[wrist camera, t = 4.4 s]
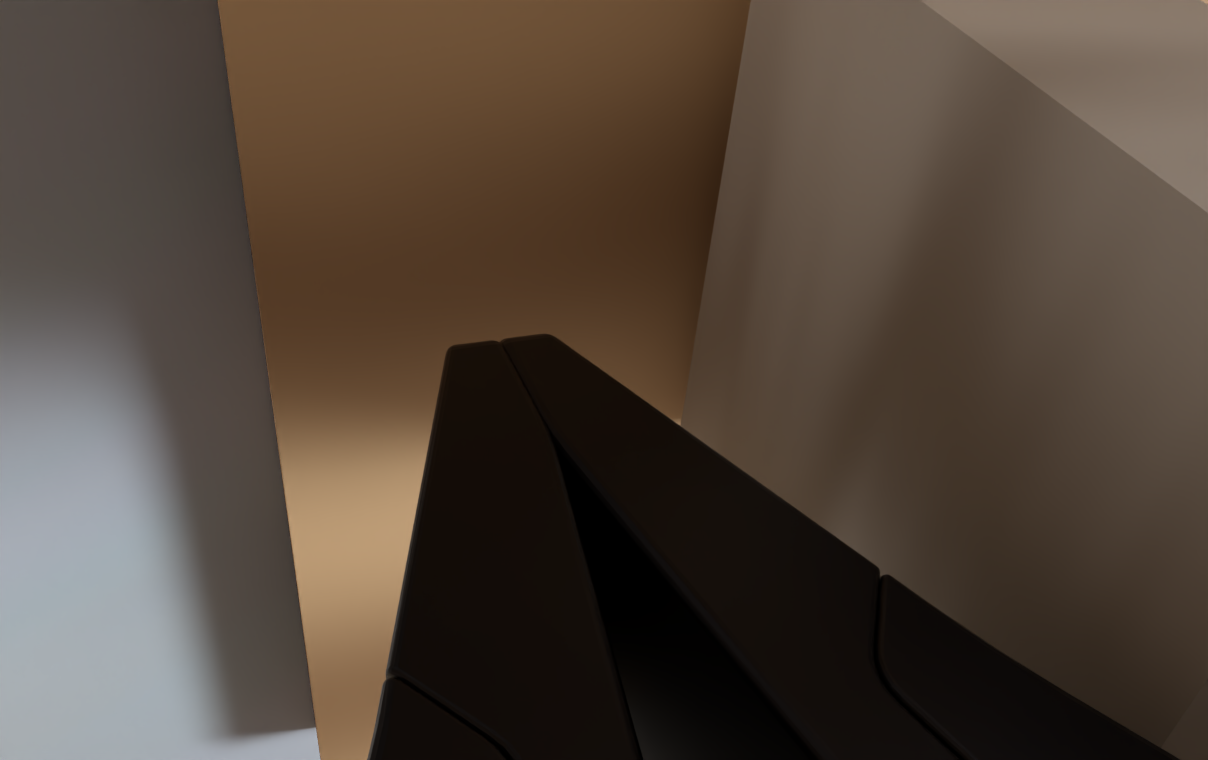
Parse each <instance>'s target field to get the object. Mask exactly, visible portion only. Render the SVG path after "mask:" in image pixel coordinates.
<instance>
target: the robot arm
mask: <svg viewBox="0 0 1208 760" xmlns="http://www.w3.org/2000/svg"><path fill="white" fill-rule="evenodd" d="M385 674H386V680H385V681H384V682H383V685H382V690H381V695H380V700H379V706H378V711H377V717H376V722H375V727H374V732H373V737H372V741H371V745H370V750H369V754H368V758H367V760H1181V759H1179V758H1177V757H1176V756H1174V755H1172V754H1171V753H1169V752H1167V751H1166V750H1164V749H1162V748H1161V747H1159V746H1157V745H1155V744H1154V743H1152V742H1150V741H1149V740H1147V739H1145V738H1144V737H1142V736H1140V735H1139V734H1137V733H1135V732H1133V731H1132V730H1130V729H1128V728H1127V727H1125V726H1123V725H1122V724H1120V723H1118V722H1117V721H1115V720H1113V719H1111V718H1110V717H1108V716H1106V715H1105V714H1103V713H1101V712H1100V711H1098V710H1096V709H1095V708H1093V707H1091V706H1089V705H1088V704H1086V703H1084V702H1083V701H1081V700H1079V699H1078V698H1076V697H1074V696H1073V695H1071V694H1069V693H1068V692H1066V691H1064V690H1063V689H1061V688H1060V687H1058V686H1056V685H1055V684H1053V683H1051V682H1050V681H1048V680H1047V679H1045V678H1043V677H1042V676H1040V675H1039V674H1037V673H1035V672H1034V671H1032V670H1030V669H1029V668H1027V667H1026V666H1024V665H1022V664H1021V663H1019V662H1017V661H1016V660H1014V659H1013V658H1011V657H1009V656H1008V655H1006V654H1005V653H1003V652H1001V651H1000V650H998V649H996V648H995V647H993V646H992V645H991V644H989V643H988V642H986V641H985V640H983V639H982V638H980V637H979V636H977V635H976V634H974V633H973V632H971V631H970V630H968V629H967V628H965V627H964V626H963V625H961V624H960V623H958V622H957V621H955V620H954V619H952V618H951V617H949V616H948V615H946V614H945V613H943V612H942V611H940V610H939V609H937V608H936V607H935V606H933V605H932V604H930V603H929V602H927V601H926V600H924V599H923V598H922V597H920V596H919V595H917V594H916V593H915V592H913V591H912V590H910V589H909V588H908V587H906V586H905V585H903V584H902V583H901V582H899V581H898V580H896V579H895V578H894V577H892V576H891V575H889V574H885V575H882V576H881V577H880V569H879V568H878V567H877V566H876V565H875V564H873V563H872V562H871V561H869V560H868V559H866V558H865V557H864V556H862V555H861V554H859V553H858V552H857V551H855V550H854V549H852V548H851V547H850V546H848V545H847V544H845V543H844V542H843V541H841V540H840V539H838V538H837V537H836V536H834V535H833V534H831V533H830V532H829V531H827V530H826V529H824V528H823V527H821V526H820V525H819V524H817V523H816V522H814V521H813V520H812V519H810V518H809V517H807V516H806V515H805V514H803V513H802V512H800V511H799V510H798V509H796V508H795V507H793V506H792V505H791V504H789V503H788V502H786V501H785V500H784V499H782V498H781V497H779V496H778V495H777V494H775V493H774V492H772V491H771V490H770V489H768V488H767V487H765V486H764V485H763V484H761V483H760V482H758V481H757V480H756V479H754V478H753V477H751V476H750V475H749V474H747V473H746V472H744V471H743V470H742V469H740V468H739V467H737V466H736V465H735V464H733V463H732V462H730V461H729V460H728V459H726V458H725V457H723V456H722V455H721V454H719V453H718V452H716V451H715V450H714V449H712V448H711V447H709V446H708V445H707V444H705V443H704V442H702V441H701V440H700V439H698V438H697V437H695V436H694V435H693V434H691V433H690V432H688V431H687V430H686V429H684V428H683V427H681V426H680V425H679V424H677V423H676V422H674V421H673V420H672V419H670V418H669V417H667V416H666V415H665V414H663V413H662V412H660V411H659V410H657V409H656V408H655V407H653V406H652V405H650V404H649V403H648V402H646V401H645V400H643V399H642V398H641V397H639V396H638V395H636V394H635V393H634V392H632V391H631V390H629V389H628V388H627V387H625V386H624V385H622V384H621V383H620V382H618V381H617V380H615V379H614V378H613V377H611V376H610V375H608V374H607V373H606V372H604V371H603V370H601V369H600V368H599V367H597V366H596V365H594V364H593V363H592V362H590V361H589V360H587V359H586V358H585V357H583V356H582V355H580V354H579V353H578V352H576V351H575V350H573V349H572V348H571V347H569V346H568V345H566V344H565V343H564V342H562V341H561V340H559V339H558V338H556V337H555V336H553V335H550V334H535V335H528V336H520V337H512V338H505V339H503V340H502V341H500V342H498V341H495V340H489V341H481V342H473V343H465V344H457V345H453V346H451V347H450V348H448V350H447V351H446V355H445V360H444V365H443V371H442V376H441V381H440V387H439V392H438V397H437V402H436V408H435V413H434V418H433V424H432V429H431V434H430V440H429V445H428V450H427V455H426V461H425V466H424V471H423V477H422V482H421V487H420V492H419V498H418V503H417V508H416V514H415V519H414V524H413V530H412V535H411V540H410V545H409V551H408V556H407V561H406V567H405V572H404V577H403V583H402V588H401V593H400V598H399V604H398V609H397V614H396V620H395V625H394V630H393V636H392V641H391V646H390V651H389V657H388V662H387V667H386V673H385Z"/></svg>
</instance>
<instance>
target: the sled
mask: <svg viewBox="0 0 1208 760" xmlns="http://www.w3.org/2000/svg"><path fill="white" fill-rule="evenodd" d="M681 427H683V428H684V429H686V430H687V431H688V432H690V433H691V434H693V435H694V436H695V437H697V438H698V439H700V440H701V441H702V442H704V443H705V444H707V445H708V446H709V447H711V448H712V449H714V450H715V451H716V452H718V453H719V454H721V455H722V456H723V457H725V458H726V459H728V460H729V461H730V462H732V463H733V464H735V465H736V466H737V467H739V468H740V469H742V470H743V471H744V472H746V473H747V474H749V475H750V476H751V477H753V478H754V479H756V480H757V481H758V482H760V483H761V484H763V485H764V486H765V487H767V488H768V489H770V490H771V491H772V492H774V493H775V494H777V495H778V496H779V497H781V498H782V499H784V500H785V501H786V502H788V503H789V504H791V505H792V506H793V507H795V508H796V509H798V510H799V511H800V512H802V513H803V514H805V515H806V516H807V517H809V518H810V519H812V520H813V521H814V522H816V523H817V524H819V525H820V526H821V527H823V528H824V529H826V530H827V531H829V532H830V533H831V534H833V535H834V536H836V537H837V538H838V539H840V540H841V541H843V542H844V543H845V544H847V545H848V546H850V547H851V548H852V549H854V550H855V551H857V552H858V553H859V554H861V555H862V556H864V557H865V558H866V559H868V560H869V561H871V562H872V563H873V564H875V565H876V566H877V567H878V568H879V569H880V577H881V576H882V575H885V574H889V575H891V576H892V577H894V578H895V579H896V580H898V581H899V582H901V583H902V584H903V585H905V586H906V587H908V588H909V589H910V590H912V591H913V592H915V593H916V594H917V595H919V596H920V597H922V598H923V599H924V600H926V601H927V602H929V603H930V604H932V605H933V606H935V607H936V608H937V609H939V610H940V611H942V612H943V613H945V614H946V615H948V616H949V617H951V618H952V619H954V620H955V621H957V622H958V623H960V624H961V625H963V626H964V627H965V628H967V629H968V630H970V631H971V632H973V633H974V634H976V635H977V636H979V637H980V638H982V639H983V640H985V641H986V642H988V643H989V644H991V645H992V646H993V647H995V648H996V649H998V650H1000V651H1001V652H1003V653H1005V654H1006V655H1008V656H1009V657H1011V658H1013V659H1014V660H1016V661H1017V662H1019V663H1021V664H1022V665H1024V666H1026V667H1027V668H1029V669H1030V670H1032V671H1034V672H1035V673H1037V674H1039V675H1040V676H1042V677H1043V678H1045V679H1047V680H1048V681H1050V682H1051V683H1053V684H1055V685H1056V686H1058V687H1060V688H1061V689H1063V690H1064V691H1066V692H1068V693H1069V694H1071V695H1073V696H1074V697H1076V698H1078V699H1079V700H1081V701H1083V702H1084V703H1086V704H1088V705H1089V706H1091V707H1093V708H1095V709H1096V710H1098V711H1100V712H1101V713H1103V714H1105V715H1106V716H1108V717H1110V718H1111V719H1113V720H1115V721H1117V722H1118V723H1120V724H1122V725H1123V726H1125V727H1127V728H1128V729H1130V730H1132V731H1133V732H1135V733H1137V734H1139V735H1140V736H1142V737H1144V738H1145V739H1147V740H1149V741H1150V742H1152V743H1154V744H1155V745H1157V746H1159V747H1161V748H1162V749H1164V750H1166V751H1167V752H1169V753H1171V754H1172V755H1174V756H1176V757H1177V758H1179V759H1181V760H1208V4H1206V3H1204V2H1202V1H1201V0H751V2H750V8H749V14H748V20H747V26H746V32H745V39H744V45H743V51H742V57H741V63H740V69H739V75H738V81H737V87H736V93H735V99H734V105H733V111H732V117H731V123H730V129H729V135H728V141H727V147H726V154H725V160H724V166H723V172H722V178H721V184H720V190H719V196H718V202H717V208H716V214H715V220H714V226H713V232H712V238H711V244H710V250H709V256H708V262H707V268H706V275H705V281H704V287H703V293H702V299H701V305H700V311H699V317H698V323H697V329H696V335H695V341H694V347H693V353H692V359H691V365H690V371H689V377H688V383H687V389H686V396H685V402H684V408H683V414H682V420H681Z"/></svg>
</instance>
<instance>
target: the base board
mask: <svg viewBox="0 0 1208 760" xmlns="http://www.w3.org/2000/svg"><path fill="white" fill-rule="evenodd" d="M217 1H218V9H219V16H220V23H221V31H222V38H223V45H224V53H225V60H226V68H227V75H228V82H229V90H230V97H231V104H232V112H233V119H234V126H235V134H236V141H237V149H238V156H239V163H240V171H241V178H242V185H243V193H244V200H245V208H246V215H247V222H248V230H249V237H250V244H251V252H252V259H253V267H254V274H255V281H256V289H257V296H258V303H259V311H260V318H261V325H262V333H263V340H264V348H265V355H266V362H267V370H268V377H269V384H270V392H271V399H272V407H273V414H274V421H275V429H276V436H277V443H278V451H279V458H280V466H281V473H282V480H283V488H284V495H285V502H286V510H287V517H288V524H289V532H290V539H291V547H292V554H293V561H294V569H295V576H296V583H297V591H298V598H299V606H300V613H301V620H302V628H303V635H304V642H305V650H306V657H307V665H308V672H309V679H310V687H311V694H312V701H313V709H314V716H315V723H316V731H317V738H318V745H319V752H320V758H321V760H367V758H368V754H369V750H370V745H371V741H372V737H373V732H374V727H375V722H376V717H377V711H378V706H379V700H380V695H381V690H382V685H383V682H384V681H385V680H386V674H385V673H386V667H387V662H388V657H389V651H390V646H391V641H392V636H393V630H394V625H395V620H396V614H397V609H398V604H399V598H400V593H401V588H402V583H403V577H404V572H405V567H406V561H407V556H408V551H409V545H410V540H411V535H412V530H413V524H414V519H415V514H416V508H417V503H418V498H419V492H420V487H421V482H422V477H423V471H424V466H425V461H426V455H427V450H428V445H429V440H430V434H431V429H432V424H433V418H434V413H435V408H436V402H437V397H438V392H439V387H440V381H441V376H442V371H443V365H444V360H445V355H446V351H447V350H448V348H450V347H451V346H453V345H457V344H465V343H473V342H481V341H489V340H495V341H498V342H500V341H502V340H503V339H505V338H512V337H520V336H528V335H535V334H550V335H553V336H555V337H556V338H558V339H559V340H561V341H562V342H564V343H565V344H566V345H568V346H569V347H571V348H572V349H573V350H575V351H576V352H578V353H579V354H580V355H582V356H583V357H585V358H586V359H587V360H589V361H590V362H592V363H593V364H594V365H596V366H597V367H599V368H600V369H601V370H603V371H604V372H606V373H607V374H608V375H610V376H611V377H613V378H614V379H615V380H617V381H618V382H620V383H621V384H622V385H624V386H625V387H627V388H628V389H629V390H631V391H632V392H634V393H635V394H636V395H638V396H639V397H641V398H642V399H643V400H645V401H646V402H648V403H649V404H650V405H652V406H653V407H655V408H656V409H657V410H659V411H660V412H662V413H663V414H665V415H666V416H667V417H669V418H670V419H672V420H673V421H674V422H676V423H677V424H679V425H680V426H681V420H682V414H683V408H684V402H685V396H686V389H687V383H688V377H689V371H690V365H691V359H692V353H693V347H694V341H695V335H696V329H697V323H698V317H699V311H700V305H701V299H702V293H703V287H704V281H705V275H706V268H707V262H708V256H709V250H710V244H711V238H712V232H713V226H714V220H715V214H716V208H717V202H718V196H719V190H720V184H721V178H722V172H723V166H724V160H725V154H726V147H727V141H728V135H729V129H730V123H731V117H732V111H733V105H734V99H735V93H736V87H737V81H738V75H739V69H740V63H741V57H742V51H743V45H744V39H745V32H746V26H747V20H748V14H749V8H750V2H751V0H217ZM1201 1H1202V2H1204V3H1206V4H1208V0H1201Z"/></svg>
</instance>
